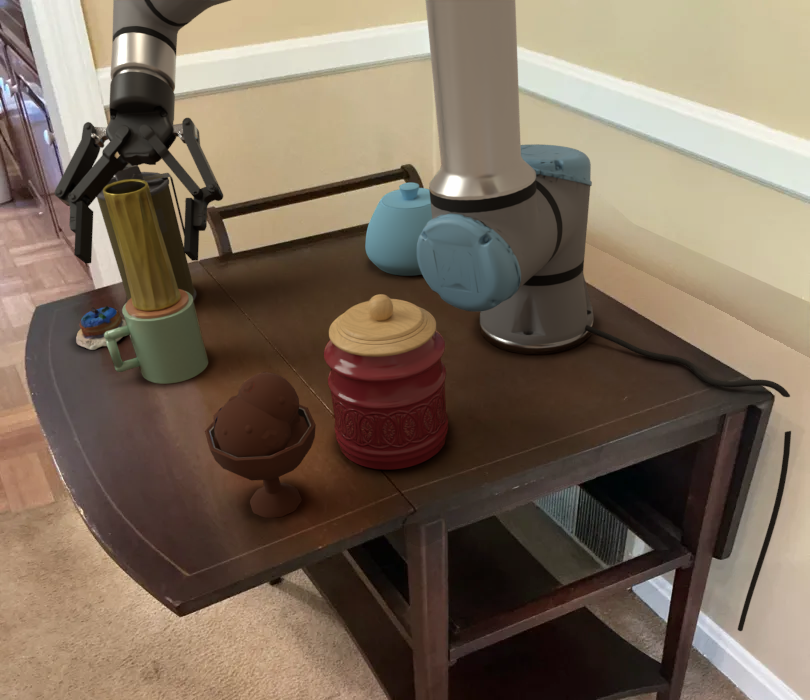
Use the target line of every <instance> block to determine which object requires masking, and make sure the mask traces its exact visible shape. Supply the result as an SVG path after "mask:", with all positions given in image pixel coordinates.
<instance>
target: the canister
mask: <svg viewBox="0 0 810 700" xmlns="http://www.w3.org/2000/svg"><path fill="white" fill-rule="evenodd" d="M127 179H140V180H144V181H146V182H147V183H148V186H149V189H150V193H151V197H152V201H153V205H154V209H155V212H156V216H157V220H158V224H159V228H160V231H161V234H162V237H163V240H164V243H165V246H166V250H167V253H168V256H169V260H170V263H171V266H172V270H173V273H174V277H175V280H176V283H177V287H178V289H181V290H184V291H186V292H188V293H190V294H191V295H192V297H193V300H194V301H195V300H196V298H197V291H196V288H195V287H194V284H193V280H192V274H191V272H190V271H191V270H190V267H189V263H188V262H189V261H188V258H187V255H186V254H185V253H184V241H183V239H182V238H183V237H182V234H181V230H180V226H179V221H178V217H179V220H180V224H181V229H182V232H183V234H184V230H185V223H184V220H183V217H182V212H181V209H180V203H179V200H178V195H177V191H176V188H175V184H174V179H173V177H172V175H171V174H170V172H164V173H160V172H155V171H154V172H153V171H141V169H140V167H139V165H136V166H132V165H131V164H129V163H128V164H127V166H126V167H125V168H124V169H123V170H122V171H118V172H117V173H116V174H115V176H114V177H113V178H112V179H111V180H110V182H109V183H108V184H107V185H109V184H111V183H114V182H117V181H121V180H127ZM170 184H171V188H172V192H173V196H174V199H175V204H176V208H177V212H178V217H177V213H176V209H175V205H174V200H173V197H172V192H171V188H170ZM107 185H106V186H107ZM96 199H97V202H98V205H99V210H100V212H101V215H102V220H103V222H104V226H105V229H106V232H107V236H108V239H109V242H110V246H111V248H112V252H113V255H114V259H115V263H116V266H117V269H118V272H119V275H120V279H121V282H122V285H123V288H124V292H125V295H126V300H127V301H128V300H129V299H131V298H132V297H131V292H130V289H129V285H128V281H127V276H126V272H125V268H124V264H123V260H122V257H121V254H120V250H119V246H118V243H117V239H116V235H115V232H114V229H113V225H112V222H111V218H110V215H109V211H108V207H107V204H106V200H105V197H104V193H103V190H102V191H101V192H100V193H99V195H98V196H97V197H96Z"/></svg>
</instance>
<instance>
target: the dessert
mask: <svg viewBox="0 0 810 700" xmlns="http://www.w3.org/2000/svg"><path fill="white" fill-rule="evenodd" d="M123 326H126V322H125V319H123V317H122V315H121V314H120V312H119V310H118V309H115V308H114V307H110V306H108V305H106V306H103V307H100V308H96V307H93V306H91V310H89V311H88V312H86V313H85V314H84V315H83V316H82V317H81V318H80V321H79V327H80V329H79V330H78V331H77V333H76V337H75V343H76V344H77V346H80V347H82V348H86V349H87V350H92V351H95V350H97V349H99V348H101V347H108V346H107V343H106V340H105V337H104V333H105V332H106V331H109V330H112V329H116V328H119V327H123ZM121 339H123V337H120V338H117V339H115V340H116V343H118V342H119V341H120V340H121Z"/></svg>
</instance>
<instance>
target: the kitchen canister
mask: <svg viewBox="0 0 810 700" xmlns="http://www.w3.org/2000/svg"><path fill="white" fill-rule="evenodd" d="M328 337H329V340H328V341H327V342H326V344H325V346H324V350H323V358H324V362H325V363H326V365H327V366H328V367H329V369H330V371H329V373H328V376H327V385H328V388H329V391H330V394H331V395H330V396H331V402H332V409H333V415H334V424H333V425H334V433H335V439H336V441H337V443H338V445H339V448H340V451H341V453H342V454H343V455H344V456H345V457H346V458H347V459H348V460H350V461H351V462H352V463H355V464H357V465H360V466H362V467H365V468H368V469H374V470H385V471H386V470H387V471H388V470H400V469H406V468H411V467H414V466H417V465H420V464H422V463H424V462H427V461H428V460H430V459H431V458H432V457H434V456H435V455H437V454H438V453H439V452H440V451H441V449H443V447H444V446H445V443H446V440H447V434H448V431H449V415H448V412H447V398H446V378H447V369H446V366H445V364H444V362H443V361H442V358H443V355H444V353H445V352H446V341H445V338H444V337H443V335H442V334H441V333H440V332H439V330H437V321H436V318H435V317H434V316H433V314H431V312H429V311H428V310H426V309H424V308H422V307H420V306H418V305H416V304H415V303H413V302H410V301H407V300H403V299H396V298H390V297H389V296H388V295H386V294H382V293H381V294H380V293H379V294H378V293H377V294H376V295H372V296H371V298H370V299H369V300H366V301H362V302H360V303H358V304H355V305H353V306H350V308H348V309H347V310H346V311H345V312H344V313H342V314H340V315H339V316H337V318H335V319H334V320H333V321H332V323H331V324H330V326H329V328H328Z"/></svg>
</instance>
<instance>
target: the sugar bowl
mask: <svg viewBox="0 0 810 700" xmlns="http://www.w3.org/2000/svg"><path fill="white" fill-rule="evenodd" d="M398 188H399V189H394V190H391V191H389V192H387V193H386V194H384V195H383V196H382V197H381V199H380V200H379V201H378V203H377V205H376V207H375V209H374V211H373V213H372V215H371V217H370V220H369V221H368V225H367V229H366V234H365V244H364V247H365V253H366V256H367V258H368V259H369V261H371V263H373V264H374V265H375V267H377V268H378V269H379V270H381V271H382V272H384V273H387V274H390V275H394V276H404V277H408V276H409V277H410V276H411V277H413V276H423V275H422V273H421V271H420V268H419V264H418V260H417V242H418V239H419V236H420V234H421V233H422V231H423V229H424V227H425V226H426V224H427V222H428V221H430V220H431V219H432V211H431V201H430V191H429V188H425V187H420V184H419V183H417V182H413V181H411V182H404V183H402V184H400V185H399V186H398Z"/></svg>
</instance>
